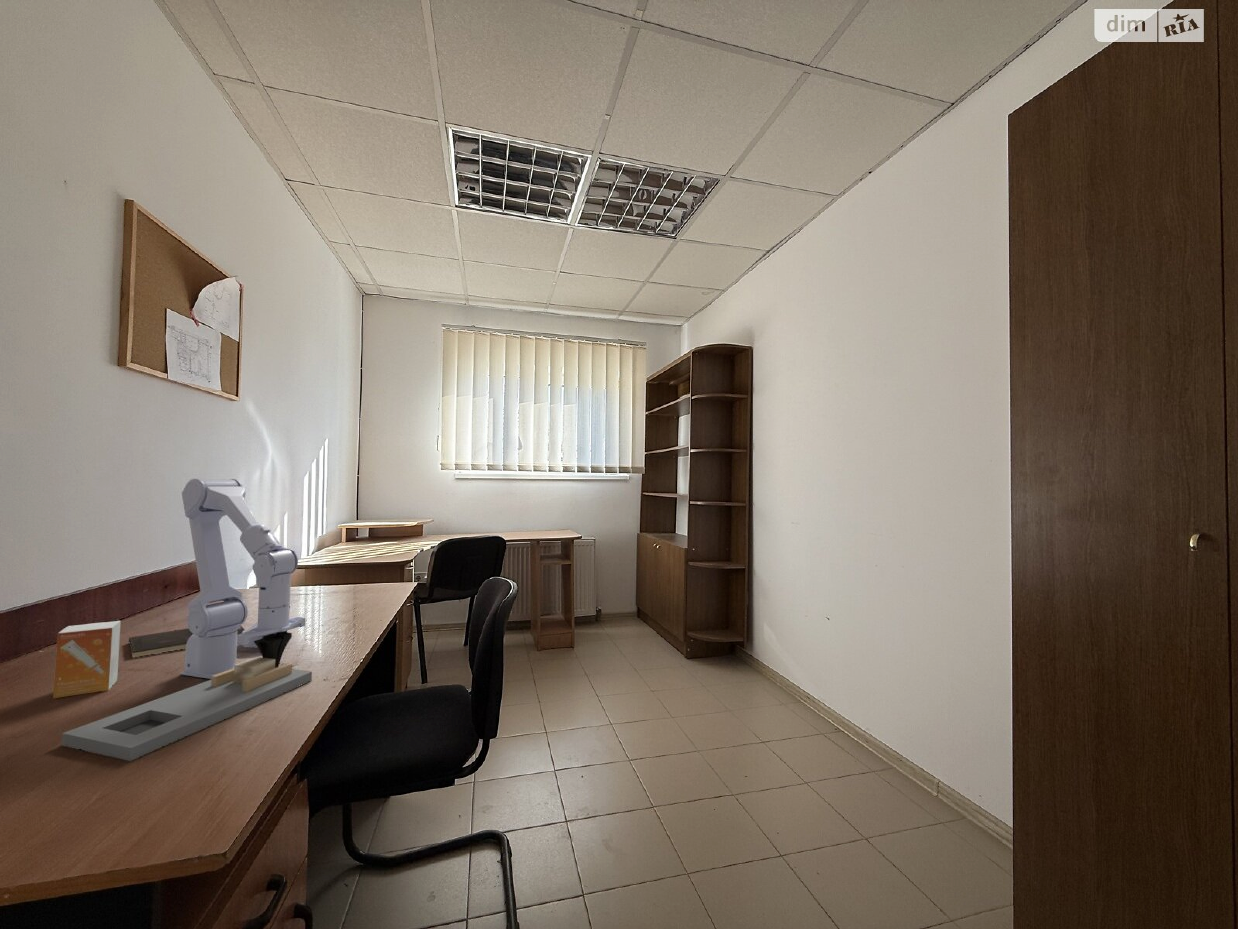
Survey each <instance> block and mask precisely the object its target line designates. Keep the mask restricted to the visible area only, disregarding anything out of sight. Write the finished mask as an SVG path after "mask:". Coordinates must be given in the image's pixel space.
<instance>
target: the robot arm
mask: <svg viewBox="0 0 1238 929" xmlns="http://www.w3.org/2000/svg"><path fill="white" fill-rule="evenodd" d="M246 493H247V491H246V489H245V487H244V485H243V484H242V482H241V481H240V480H239V479H237V478H230V479H218V478H217V479H213V478H212V479H209V478H207V479H205V478H204V479H203V478H201V479H200V478H192V479H189V481H188V482H187V483H186V485H185V486H184V488H183V490H182V492H181V496H182V497H181V498H182V503H183V504H182V505H183V509H184V514H185V517H186V518H188V520H189V521H188V522H189V528H190V535H191V541H192V545H193V546H192V548H193V552H194V558H195V564H196V565H195V566H196V570H197V571H196V572H197V577H198V584H199V591H200V592H199V593H198V594H197V596H195V597H193V599H192V600H191V601H190V602H189V603H188V604H187V607H188V614H187V619H186V621H187V622H186V624H187V629H188V628H189V630H190V631H191V632H192V633H193V635H192V636H191V637H190V638H189V639H188V641H187V643H186V649H185V654H184V657H185V658H184V670H183V671H180V675H183V676H189V677H190V676H191V677H195V678H203V679H208V680H211V678H212V676H213V675H216V674H219V673H222V672H224V671H227V670H230V669H233V668H234V665H236V664H238V663H237V653H238V651H237V650H238V649H237V648H238V645H241V646H242V645H247V644H249V642H253V641H254V643H255V644H256V645H257V647H256V648H257V649H258V650H259V652H260V653H261V654H260V655H261V656H262V657H261V658H269V659H275V668H277V667H280V663H281V659H282V656H283V655H284V654H283V653H284V651H285V649H286V647H287V645H288V644H289V642H290V640H291V639H292V638H293V633H292V632H288V631H290V630H293V629H297V628H303V627H306V617H302V616H301V617H300V616H297V617H294V618H290V613H291V612H290V607H291V585H292V584H291V580H292V574H293V573H295V572H296V570H297V568H298V566H299V558H298V555H297V554H296V552H295V550H294V549H293V548H290V547H287V546H285V545H282V544H281V543H280V542H279V540H278V538H277V537H276V536H275V535H274V533H273V532H272V530H271V528H270V527H269V526H268V525H265V524H259V522H258V520H257V519H256V517H255V514H254V513H253V512H252V510H251V508H250V507H249V505H248V503H247V502H246V499H245V498H246ZM225 516H227V517H228V518H229V519H230V520H231V522H232V523H233V524H234V525H235V526H236V527H237V528H238V530H239V531H240V532H241V534H240V537H239V541H240V542H241V544H242V545H243V547H244V548H245V550H246V551H247V552H248V554H249V555H250V557H251V558H252V559H253V561H254V563H253V564H252V570H253V574H254V575H255V579H256V580H255V581H256V582H255V583H256V586H257V587H258V602H257V603H258V605H257V606H258V608H257V622H258V627H256V628H253V629H251V630H249V631H247V632H245V633H242V634H239V635H237V631H238V630H237V629H240V628H241V626H242V625H243V624H244V623H245V622H246V620H247V618H248V614H249V609H248V606H247V603H246V602H245V600H244V597H243V593H242V592H241V591H240V590H238V589H236V588H235V587H232V586H231V585H230V580H229V574H228V569H227V563H226V556H225V551H224V550H225V549H224V545H223V539H222V533H221V526H220V520H221V519H222V518H223V517H225ZM216 602H217V603H216Z"/></svg>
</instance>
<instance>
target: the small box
mask: <svg viewBox="0 0 1238 929" xmlns="http://www.w3.org/2000/svg"><path fill="white" fill-rule="evenodd" d="M120 637H121V620H115V621H107V622H103V621H102V622H94V623H86V624H85V623H83V624H78V625H77V624H76V625H68V626H66V627H65V628H63V629H62V630H60V631H59V632H58V633H57V639H56V651H55V664H54V665H55V666H54V678H53V679H54V680H53V681H54V682H53V697H52V698H53V699H58V698H64V697H70V696H77V695H85V694H93V693H98V692H99V691H100V692H107V691H109V690H110V689H112V687H113V686H114V684H116V682H117V681H118V674H119V672H118V670H119V657H120V656H119V654H120ZM112 685H113V686H112Z"/></svg>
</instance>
